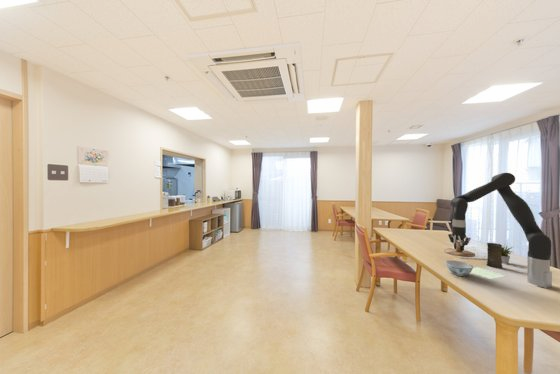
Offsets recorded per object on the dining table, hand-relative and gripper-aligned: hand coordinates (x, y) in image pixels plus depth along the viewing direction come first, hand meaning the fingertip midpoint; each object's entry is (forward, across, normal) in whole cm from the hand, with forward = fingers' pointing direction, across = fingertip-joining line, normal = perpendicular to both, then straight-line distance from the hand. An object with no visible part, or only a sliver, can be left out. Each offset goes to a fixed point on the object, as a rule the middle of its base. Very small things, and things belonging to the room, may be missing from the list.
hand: (458, 249), depth 153 cm
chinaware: (+18, 0, 0) cm, 18 cm away
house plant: (+18, +7, -60) cm, 63 cm away
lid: (+3, 0, 0) cm, 3 cm away
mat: (+18, -4, -19) cm, 26 cm away
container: (+18, +2, -42) cm, 46 cm away
